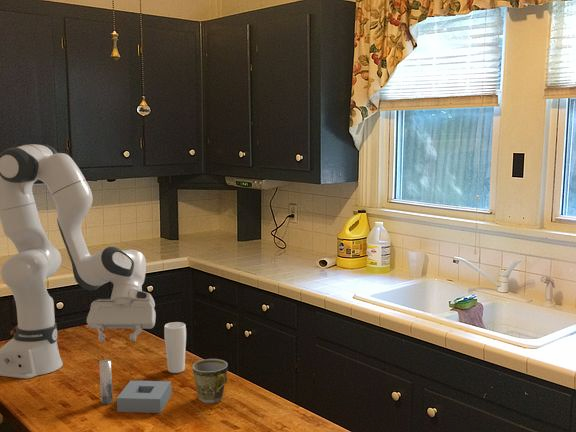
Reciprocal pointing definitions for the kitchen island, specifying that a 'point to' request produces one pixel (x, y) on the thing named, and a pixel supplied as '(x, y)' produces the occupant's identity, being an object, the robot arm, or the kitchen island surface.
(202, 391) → the ceramic cup
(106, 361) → the steel pin
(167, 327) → the white tapered cylinder
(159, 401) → the socket block
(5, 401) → the kitchen island surface
